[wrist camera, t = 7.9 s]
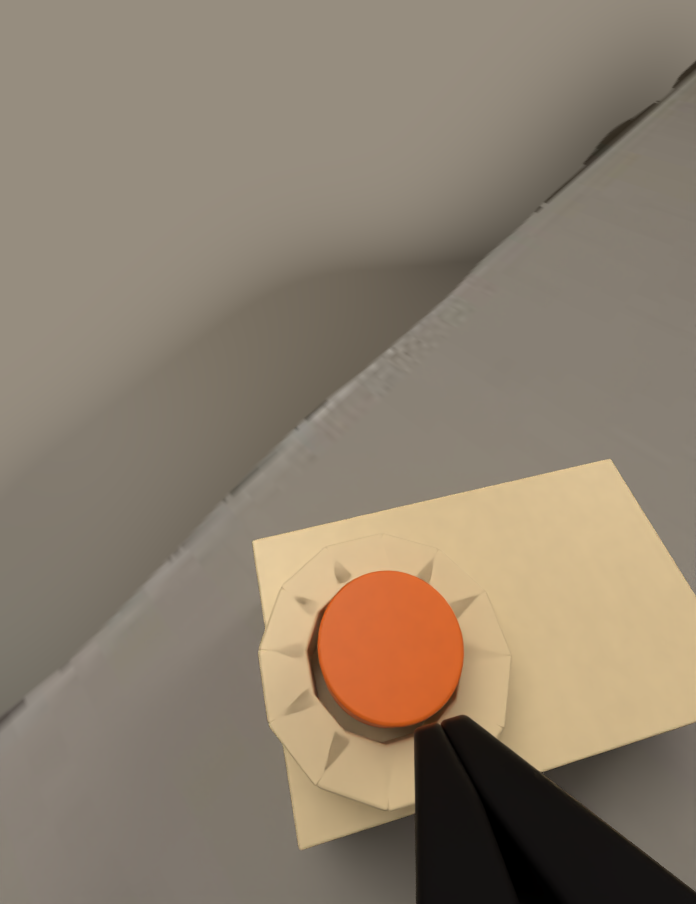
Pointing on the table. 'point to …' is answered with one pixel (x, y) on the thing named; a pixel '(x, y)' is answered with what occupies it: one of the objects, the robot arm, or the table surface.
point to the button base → (484, 635)
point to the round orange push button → (390, 649)
